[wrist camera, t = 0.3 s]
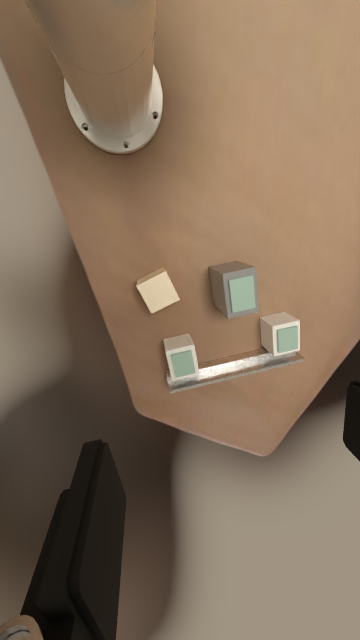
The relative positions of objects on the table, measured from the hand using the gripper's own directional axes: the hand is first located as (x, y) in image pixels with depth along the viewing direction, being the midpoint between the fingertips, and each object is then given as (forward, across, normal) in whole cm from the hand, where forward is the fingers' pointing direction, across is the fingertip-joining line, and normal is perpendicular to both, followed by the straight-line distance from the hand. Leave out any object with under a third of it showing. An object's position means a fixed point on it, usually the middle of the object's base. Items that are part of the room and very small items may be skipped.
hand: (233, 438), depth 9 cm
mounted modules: (+35, -10, +13) cm, 39 cm away
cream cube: (+35, +2, 0) cm, 35 cm away
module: (+35, -10, +2) cm, 37 cm away
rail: (+35, -10, +18) cm, 41 cm away
